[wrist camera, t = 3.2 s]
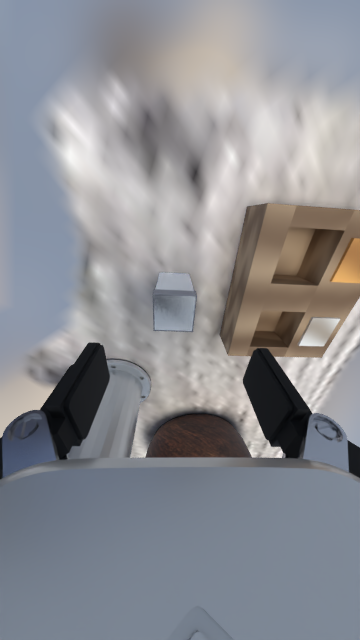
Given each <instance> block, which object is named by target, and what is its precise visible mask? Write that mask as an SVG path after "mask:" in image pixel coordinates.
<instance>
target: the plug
mask: <svg viewBox="0 0 360 640" xmlns="http://www.w3.org/2000/svg"><path fill="white" fill-rule="evenodd" d="M196 300H197V294H196V291H194V288H193V285H192V281H191V278H190V275H189V274H185V273H165V272H160V273H159V277H158V281H157V285H156V289H154V292H153V320H154V331H183V332H193V326H194V317H195V308H196Z"/></svg>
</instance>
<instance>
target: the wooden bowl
mask: <svg viewBox="0 0 360 640" xmlns="http://www.w3.org/2000/svg"><path fill="white" fill-rule="evenodd" d="M215 457H217V458H252V457H251V454H250V452H249V450H248V448H247V446H246V444H245V442H244V441H243V439H242V437H241V436H240V434H239V433H238V432H237V431H236V429H235V428H234V427H233V426H232V425H231V424H230V423H228V422H227V421H225V420H224V419H222V418H219V417H217V416H213V415H207V414H190V415H184V416H180V417H177V418H174V419H172V420H170V421H168V422H166V423H165V424H164V425H162V426H161V427H160V428H159V429H158V431H157V432H156V434H155V435H154V437H153V439H152V441H151V443H150V445H149V448H148V451H147V454H146V458H215Z"/></svg>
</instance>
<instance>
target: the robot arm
mask: <svg viewBox="0 0 360 640" xmlns="http://www.w3.org/2000/svg"><path fill="white" fill-rule="evenodd" d="M243 384H244V386H245V389H246V391H247V394H248V396H249V399H250V401H251V404H252V406H253V409H254V411H255V414H256V416H257V419H258V421H259V424H260V426H261V429H262V431H263V434H264V436H265V438H266V439H267V440H269V442H270V445H271V447H281V449H282V451H283V456H282V458H217V457H215V458H130V456H131V450H132V445H133V439H134V434H135V428H136V423H137V417H138V412H139V406H140V403H141V402H143V401H144V400H145V399H146V398H147V397H148V396H149V393H150V390H151V381H150V378H149V376H148V375H147V373H146V372H145V371H144V370H143V369H141V368H140V367H139V366H137V365H135V364H133V363H130V362H127V361H122V360H106V356H105V351H104V347H103V346H102V345H100V343H88V344H87V346H86V347H85V349H84V350H83V352H82V353H81V355H80V356H79V358H78V359H77V361H76V362H75V363H74V364H73V365H71V366H70V367H69V369H68V370H67V371H66V373H65V374H64V376H63V377H62V379H61V380H60V382H59V383H58V384H57V386H56V387H55V389H54V390H53V392H52V393H51V395H50V396H49V398H48V399H47V400H46V402H45V403H44V405H43V406H42V407H41V409H40V410H32V411H28V412H26V413H23V414H22V415H20V416H18V417H17V418H16V419H14V420H13V421H12V422H11V423H10V424H9V425H8V426H7V427H6V429H5V431H4V433H3V436H2V437H1V438H0V640H360V448H359V447H358V446H356V445H355V444H353V443H351V442H350V441H348V440H347V436H346V434H345V432H344V430H343V429H342V428H341V427H340V425H339V424H337V423H336V422H335V421H334V420H332V419H331V418H329V417H328V416H325V415H323V414H319V413H314V414H312V412H311V411H310V409H309V407H308V406H307V405H306V403H305V402H304V400H303V399H302V397H301V396H300V394H299V393H298V391H297V390H296V389H295V387H294V386H293V384H292V383H291V381H290V380H289V378H288V377H287V376H286V374H285V373H284V371H283V370H282V368H281V367H280V365H279V364H278V362H277V361H276V360H275V358H274V357H273V355H272V354H271V352H270V351H269V349H267V348H257V349H256V350H254V351H253V353H252V356H251V359H250V361H249V364H248V367H247V370H246V372H245V375H244V378H243Z"/></svg>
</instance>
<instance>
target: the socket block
mask: <svg viewBox="0 0 360 640" xmlns="http://www.w3.org/2000/svg"><path fill="white" fill-rule="evenodd" d="M359 297H360V210H350V209H337V208H323V207H310V206H297V205H283V204H270V203H267V204H261V205H255V206H249V207H247V210H246V215H245V220H244V224H243V229H242V234H241V238H240V243H239V248H238V252H237V257H236V262H235V267H234V271H233V276H232V281H231V285H230V290H229V295H228V299H227V304H226V309H225V313H224V318H223V323H222V327H221V332H220V337H221V339H222V342H223V344H224V347H225V349H226V352H227V354H228V356H252V353H253V351H254V350H256V349H257V348H267V349H269V351H270V352H271V354H272V355H273V357H320V358H322V356H323V354H324V353H325V351H326V350H327V348H328V346H329V345H330V343H331V342H332V340H333V338H334V337H335V335H336V334H337V332H338V330H339V329H340V327H341V326H342V324H343V323H344V321H345V319H346V318H347V316H348V315H349V313H350V311H351V310H352V308H353V307H354V305H355V303H356V302H357V300H358V299H359Z"/></svg>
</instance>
